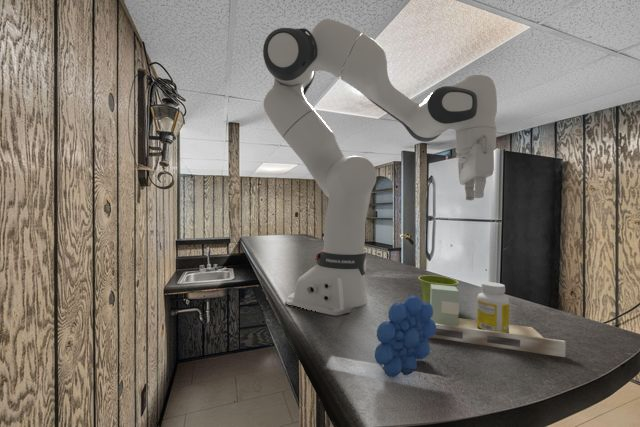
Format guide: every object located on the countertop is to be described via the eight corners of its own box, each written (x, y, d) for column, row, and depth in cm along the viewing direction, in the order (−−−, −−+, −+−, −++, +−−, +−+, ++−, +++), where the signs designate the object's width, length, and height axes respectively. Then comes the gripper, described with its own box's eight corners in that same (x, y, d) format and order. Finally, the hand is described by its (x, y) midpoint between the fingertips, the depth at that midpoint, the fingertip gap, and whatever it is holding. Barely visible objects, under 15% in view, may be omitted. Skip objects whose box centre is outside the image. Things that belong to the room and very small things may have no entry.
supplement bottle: (501, 329, 57) (502, 281, 57) (514, 340, 52) (515, 288, 52) (472, 326, 58) (473, 280, 58) (482, 337, 53) (483, 286, 53)
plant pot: (456, 311, 72) (457, 277, 72) (458, 323, 63) (459, 285, 64) (419, 305, 76) (419, 273, 76) (415, 316, 67) (416, 281, 67)
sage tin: (458, 331, 56) (459, 291, 56) (431, 327, 57) (432, 288, 57) (455, 323, 59) (455, 286, 59) (429, 320, 61) (430, 284, 61)
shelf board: (424, 344, 53) (425, 323, 53) (421, 319, 65) (421, 302, 65) (565, 366, 46) (565, 342, 46) (531, 334, 59) (532, 315, 59)
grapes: (413, 353, 49) (415, 285, 49) (445, 373, 43) (447, 296, 43) (358, 367, 44) (360, 292, 44) (386, 392, 38) (388, 305, 38)
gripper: (503, 130, 58) (501, 196, 58) (479, 152, 78) (478, 201, 78) (469, 132, 60) (468, 196, 60) (454, 153, 80) (453, 201, 80)
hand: (473, 199), depth 69 cm, fingers open, 8 cm apart
